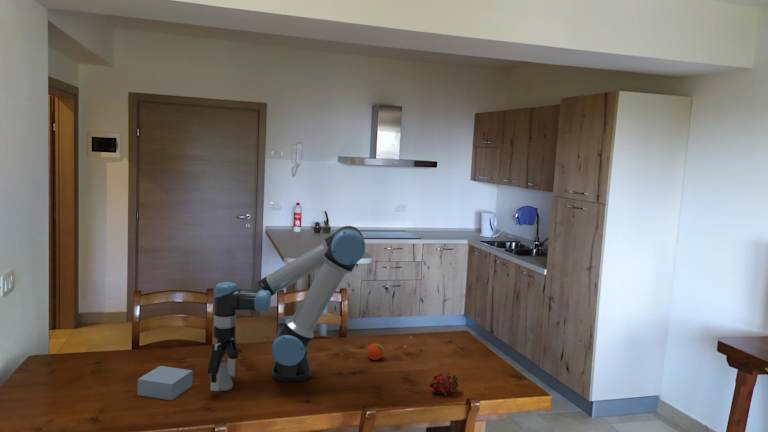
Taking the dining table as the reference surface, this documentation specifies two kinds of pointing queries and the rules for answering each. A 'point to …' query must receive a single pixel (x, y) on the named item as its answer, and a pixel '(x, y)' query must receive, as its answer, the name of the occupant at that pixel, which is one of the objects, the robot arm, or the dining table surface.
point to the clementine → (374, 351)
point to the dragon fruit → (444, 383)
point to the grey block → (165, 382)
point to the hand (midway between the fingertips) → (223, 382)
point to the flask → (224, 377)
